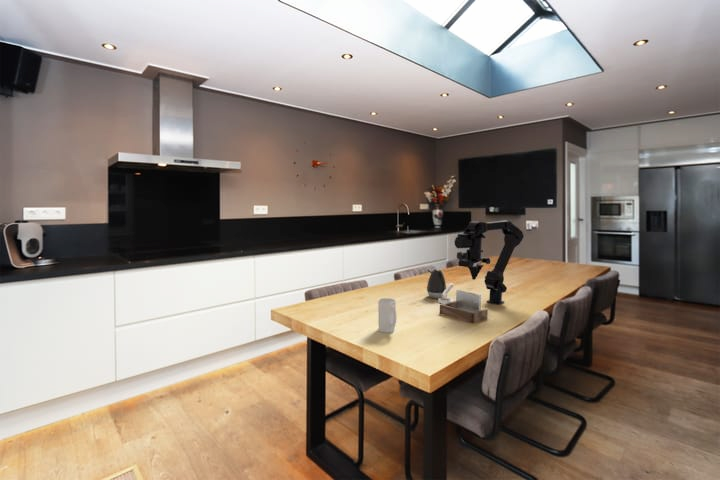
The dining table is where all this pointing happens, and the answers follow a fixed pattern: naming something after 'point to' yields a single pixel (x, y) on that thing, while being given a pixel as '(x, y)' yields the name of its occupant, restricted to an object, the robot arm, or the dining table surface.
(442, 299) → the hook
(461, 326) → the dining table surface
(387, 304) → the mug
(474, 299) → the bracket
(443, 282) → the pump dispenser
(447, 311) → the bay
